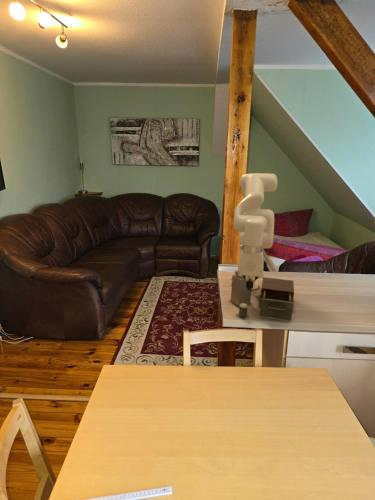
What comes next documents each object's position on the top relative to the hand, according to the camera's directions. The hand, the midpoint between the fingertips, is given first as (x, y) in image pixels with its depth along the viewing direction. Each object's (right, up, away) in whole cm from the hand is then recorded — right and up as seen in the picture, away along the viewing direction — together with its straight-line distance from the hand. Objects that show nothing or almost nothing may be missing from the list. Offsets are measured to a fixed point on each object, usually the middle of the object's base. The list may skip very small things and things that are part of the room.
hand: (249, 289), depth 144 cm
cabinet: (+16, -9, +18) cm, 26 cm away
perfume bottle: (-1, -9, +18) cm, 20 cm away
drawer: (+13, -12, +5) cm, 18 cm away
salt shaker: (-2, -12, +4) cm, 13 cm away
